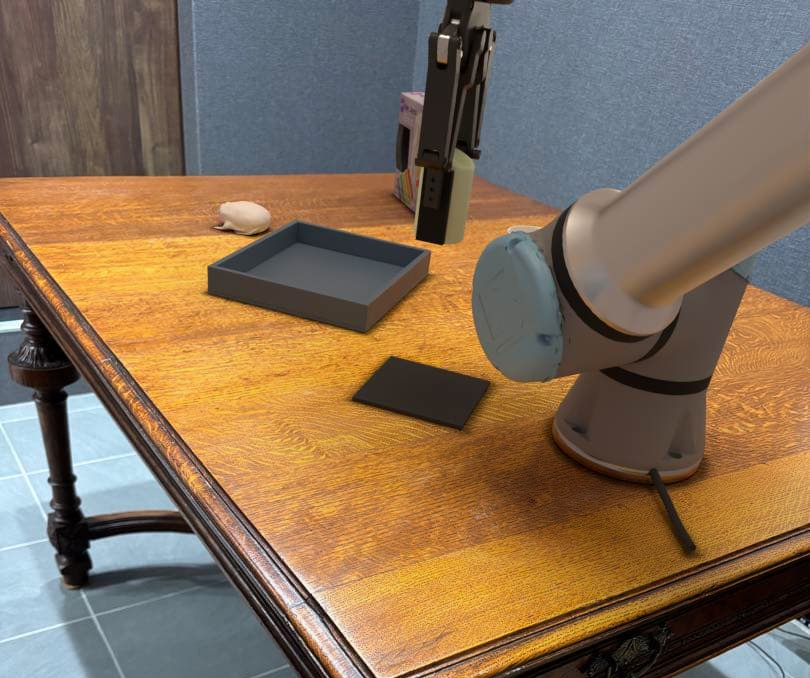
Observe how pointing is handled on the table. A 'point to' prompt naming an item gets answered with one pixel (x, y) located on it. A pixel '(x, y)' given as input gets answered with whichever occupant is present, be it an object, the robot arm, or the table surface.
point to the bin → (321, 274)
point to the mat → (423, 392)
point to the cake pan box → (408, 148)
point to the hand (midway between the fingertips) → (438, 234)
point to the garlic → (244, 217)
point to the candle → (455, 197)
